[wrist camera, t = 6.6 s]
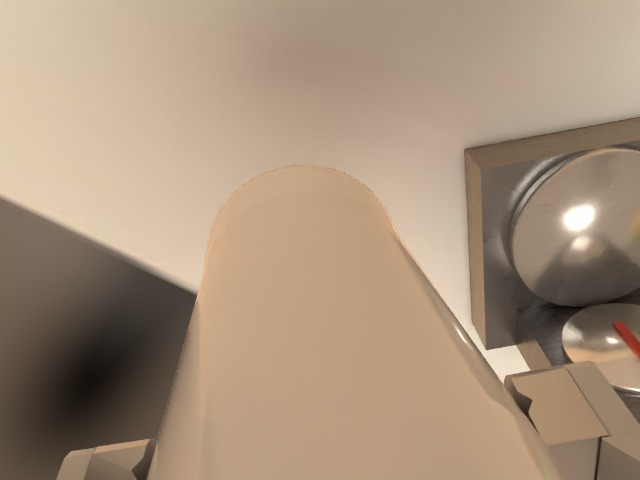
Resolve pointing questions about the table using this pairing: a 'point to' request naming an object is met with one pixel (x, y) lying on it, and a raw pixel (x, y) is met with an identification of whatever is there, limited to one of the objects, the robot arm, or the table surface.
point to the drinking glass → (331, 354)
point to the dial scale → (560, 249)
